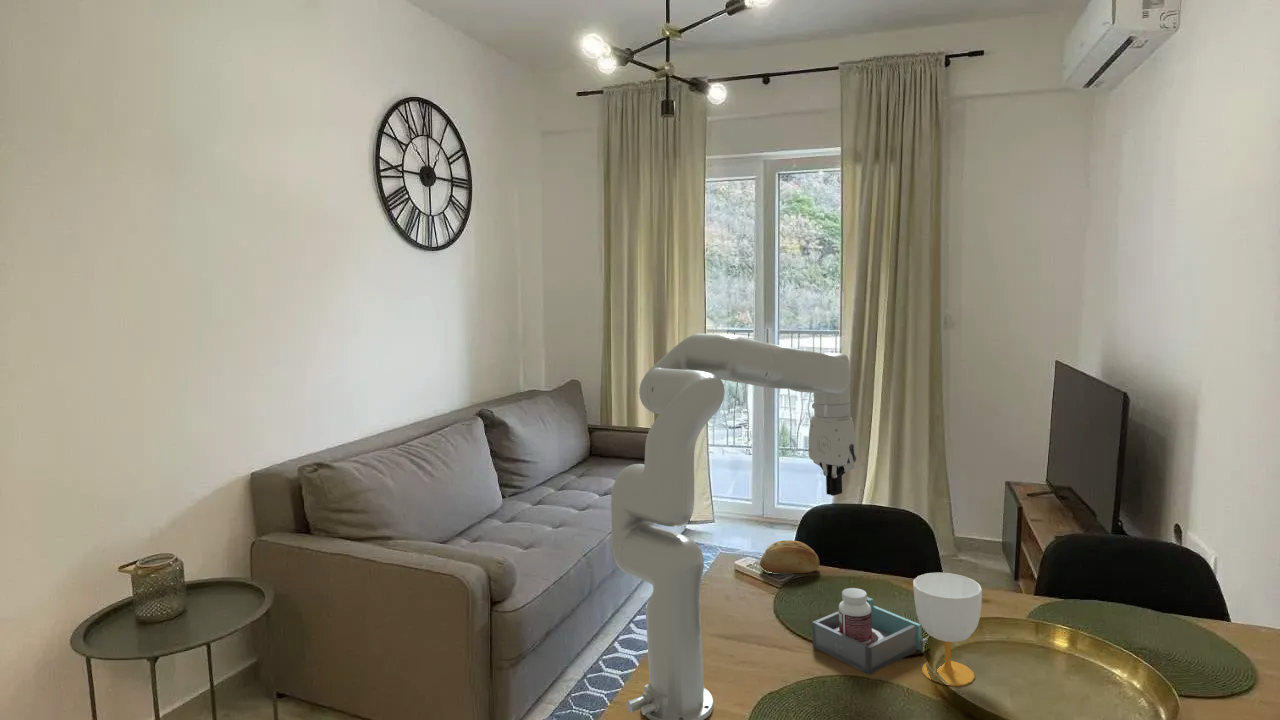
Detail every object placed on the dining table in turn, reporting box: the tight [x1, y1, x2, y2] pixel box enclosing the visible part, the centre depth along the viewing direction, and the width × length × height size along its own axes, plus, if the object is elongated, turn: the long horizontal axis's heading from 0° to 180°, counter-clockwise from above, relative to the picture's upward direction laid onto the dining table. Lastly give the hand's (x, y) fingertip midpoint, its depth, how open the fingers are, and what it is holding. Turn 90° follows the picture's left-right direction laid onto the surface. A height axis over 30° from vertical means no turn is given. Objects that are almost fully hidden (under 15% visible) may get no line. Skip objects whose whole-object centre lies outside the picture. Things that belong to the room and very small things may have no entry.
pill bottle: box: [838, 587, 872, 645], centre depth 146 cm, size 6×6×11 cm
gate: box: [866, 596, 922, 651], centre depth 152 cm, size 1×14×6 cm, turn 34°
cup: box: [912, 572, 983, 687], centre depth 136 cm, size 12×12×17 cm
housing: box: [811, 610, 928, 676], centre depth 148 cm, size 17×16×5 cm
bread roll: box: [759, 539, 820, 574], centre depth 187 cm, size 10×15×8 cm, turn 87°
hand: (834, 493), depth 161 cm, fingers closed
